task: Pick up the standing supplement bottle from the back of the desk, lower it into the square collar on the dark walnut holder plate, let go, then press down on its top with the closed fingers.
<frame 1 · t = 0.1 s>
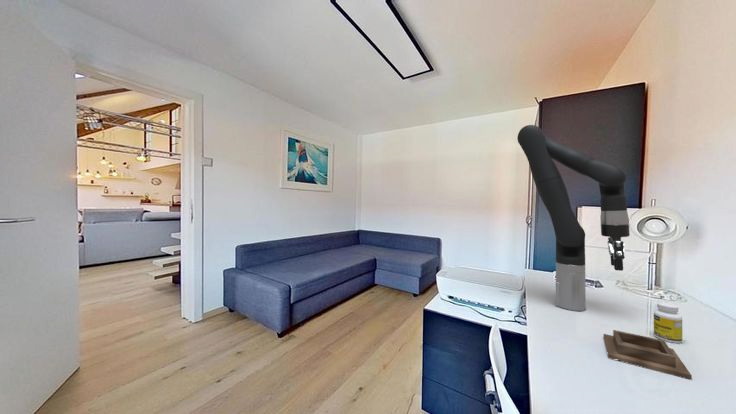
hand: (616, 267, 95), 17 cm above the table, tool pointing down, fingers open, 8 cm apart
cup holder: (641, 355, 70), on the table
supplement bottle: (667, 339, 78), on the table
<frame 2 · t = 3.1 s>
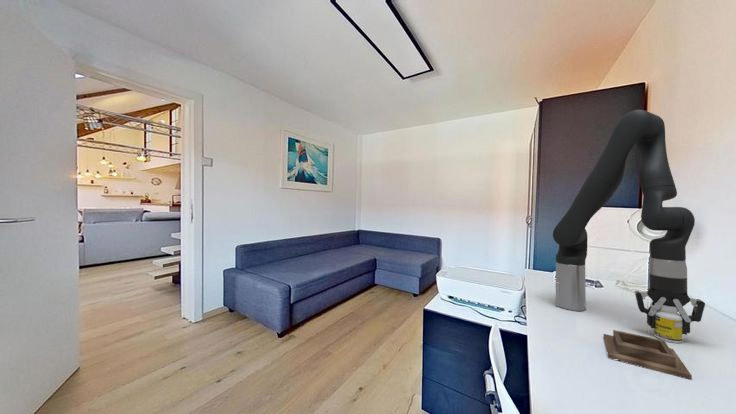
hand: (667, 330, 78), 3 cm above the table, tool pointing down, fingers closed on supplement bottle, 5 cm apart
supplement bottle: (667, 339, 78), on the table, touching gripper
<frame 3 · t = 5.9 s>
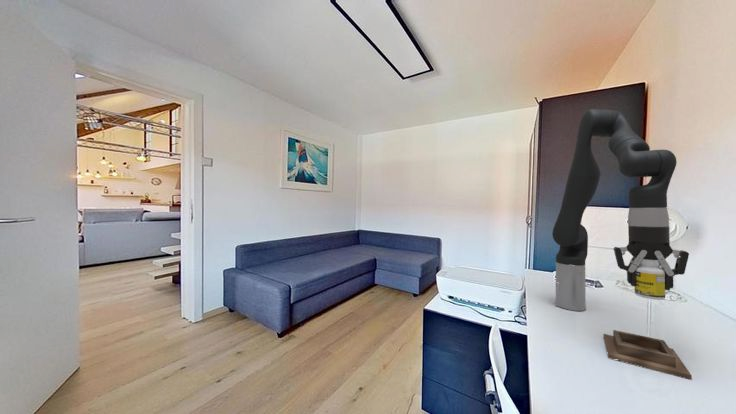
hand: (649, 287, 70), 18 cm above the table, tool pointing down, fingers closed on supplement bottle, 5 cm apart
supplement bottle: (649, 297, 70), point 15 cm above the table, touching gripper
when the fingers open (5 cm above the table, at t = 8.7 s): supplement bottle drops 1 cm, resting on cup holder.
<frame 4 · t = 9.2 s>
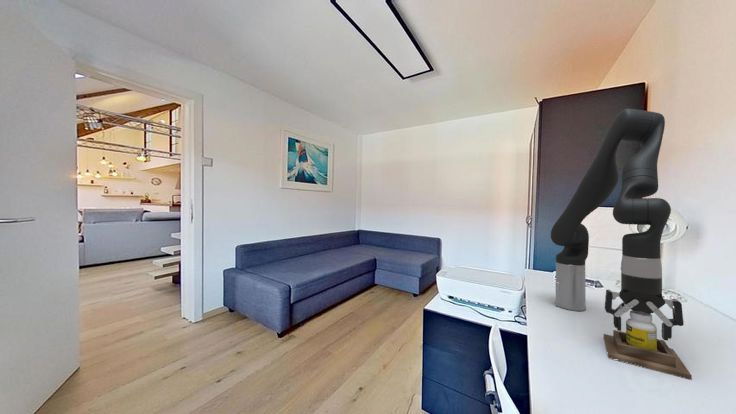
hand: (641, 334, 70), 6 cm above the table, tool pointing down, fingers open, 8 cm apart
supplement bottle: (641, 352, 70), point 1 cm above the table, touching cup holder
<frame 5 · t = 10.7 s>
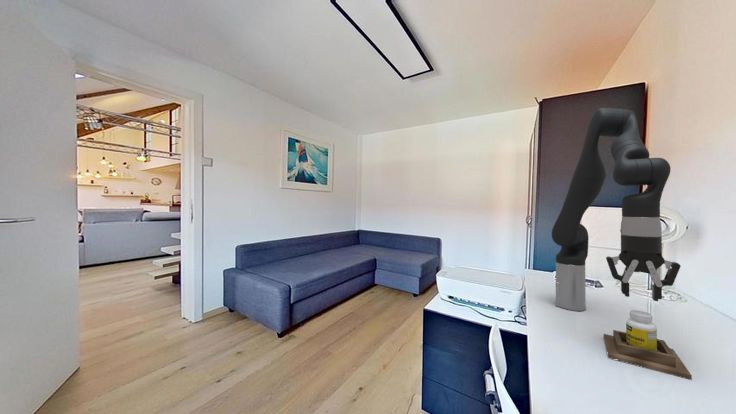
hand: (640, 297, 70), 15 cm above the table, tool pointing down, fingers open, 4 cm apart
nothing on the table moved.
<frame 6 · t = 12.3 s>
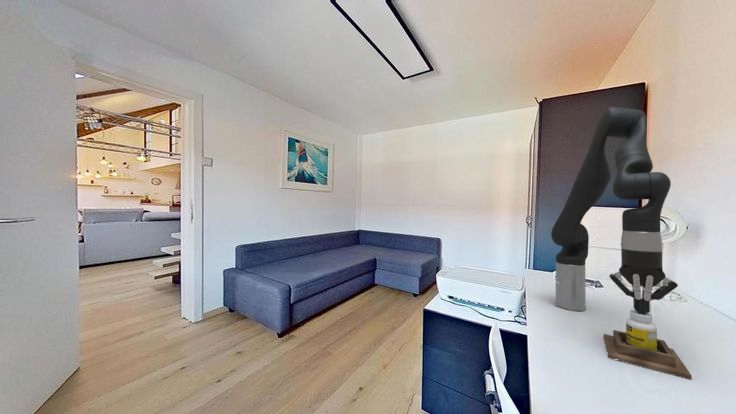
hand: (641, 313, 69), 11 cm above the table, tool pointing down, fingers closed
supplement bottle: (641, 352, 70), point 1 cm above the table, touching cup holder, gripper
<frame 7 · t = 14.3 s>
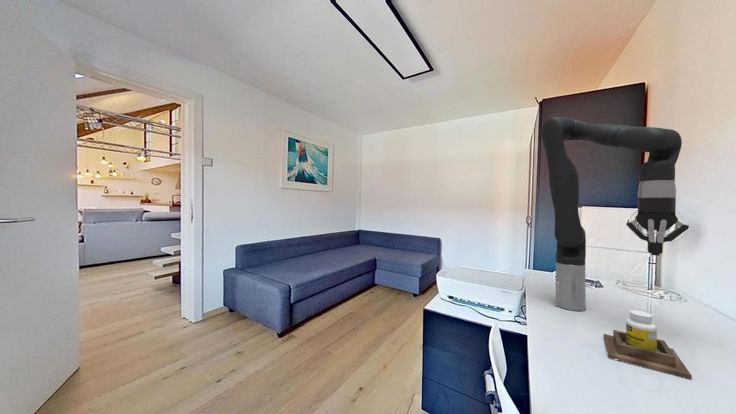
hand: (654, 254, 78), 25 cm above the table, tool pointing down, fingers closed
supplement bottle: (641, 352, 70), point 1 cm above the table, touching cup holder
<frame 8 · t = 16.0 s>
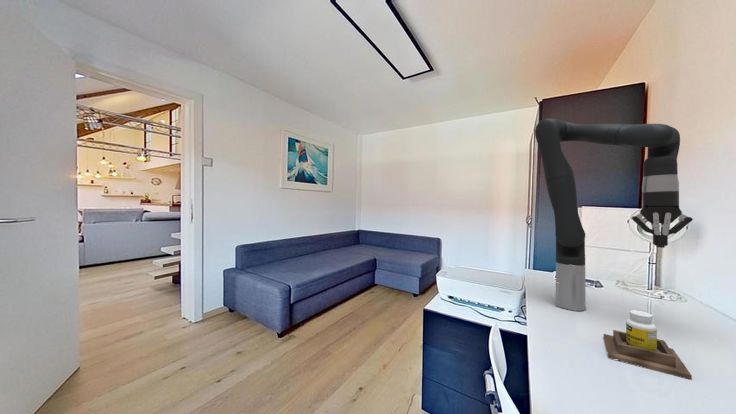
hand: (660, 247, 80), 27 cm above the table, tool pointing down, fingers closed
nothing on the table moved.
at the end: supplement bottle 0.1 cm from the cup holder (horizontally); supplement bottle point 0.8 cm above the table; supplement bottle tilted 0° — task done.
